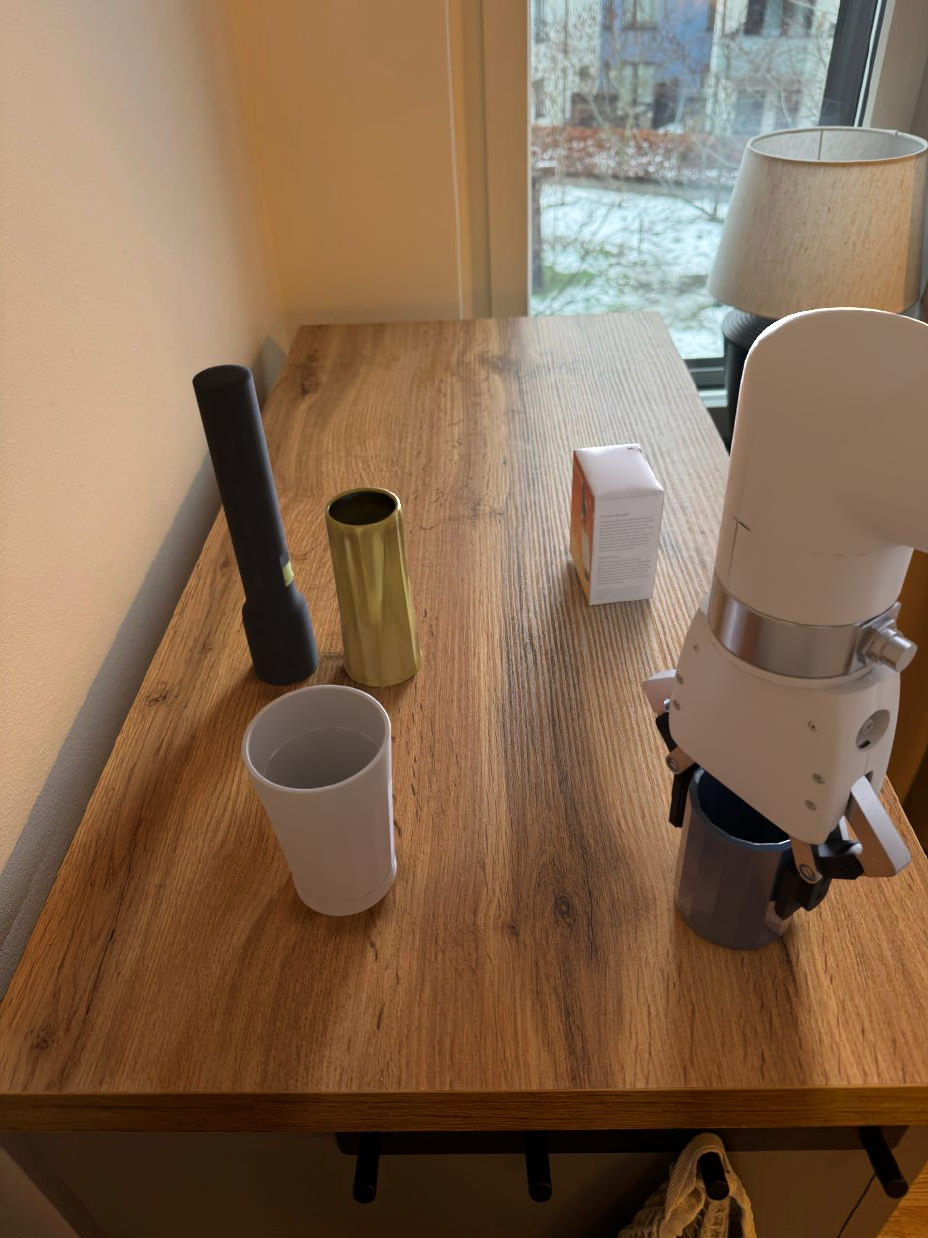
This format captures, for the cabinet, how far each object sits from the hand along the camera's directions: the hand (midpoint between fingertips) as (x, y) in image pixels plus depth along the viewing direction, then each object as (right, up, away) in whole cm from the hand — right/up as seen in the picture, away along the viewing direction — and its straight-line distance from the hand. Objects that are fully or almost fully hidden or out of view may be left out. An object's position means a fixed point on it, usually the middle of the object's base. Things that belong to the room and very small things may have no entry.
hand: (741, 854), depth 51 cm
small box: (-3, +17, +28) cm, 33 cm away
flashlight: (-29, +9, +21) cm, 37 cm away
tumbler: (0, -3, +3) cm, 4 cm away
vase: (-22, +10, +21) cm, 31 cm away
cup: (-23, -3, +6) cm, 24 cm away
